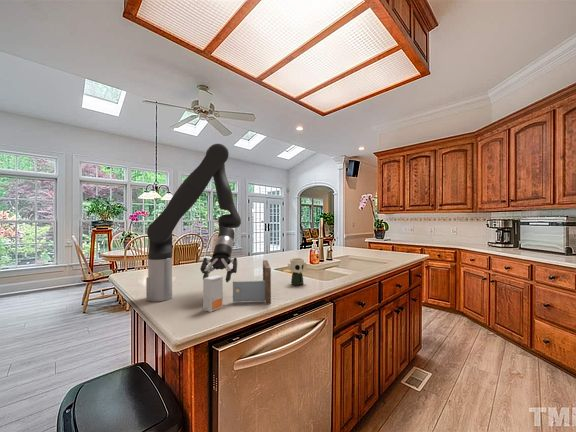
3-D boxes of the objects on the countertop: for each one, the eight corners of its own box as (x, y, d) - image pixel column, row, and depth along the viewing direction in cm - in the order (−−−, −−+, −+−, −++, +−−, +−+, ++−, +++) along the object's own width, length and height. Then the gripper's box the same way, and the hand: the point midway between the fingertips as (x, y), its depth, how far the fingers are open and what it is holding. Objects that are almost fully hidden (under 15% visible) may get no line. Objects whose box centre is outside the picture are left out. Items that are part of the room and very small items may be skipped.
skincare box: (210, 312, 94) (210, 279, 94) (202, 310, 96) (202, 278, 96) (223, 307, 99) (223, 276, 99) (215, 305, 101) (215, 274, 101)
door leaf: (266, 302, 103) (266, 282, 103) (232, 303, 102) (232, 282, 102) (266, 300, 106) (266, 280, 106) (233, 301, 105) (233, 281, 105)
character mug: (291, 287, 126) (291, 260, 126) (284, 284, 133) (284, 258, 133) (310, 284, 132) (309, 259, 132) (302, 281, 138) (302, 257, 138)
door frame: (265, 303, 103) (265, 268, 103) (263, 290, 121) (262, 260, 121) (270, 303, 103) (270, 267, 103) (267, 290, 122) (267, 260, 122)
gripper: (205, 243, 110) (195, 276, 98) (238, 242, 110) (232, 275, 98) (209, 253, 115) (200, 286, 104) (241, 253, 115) (235, 286, 103)
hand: (216, 281), depth 101 cm, fingers open, 8 cm apart
